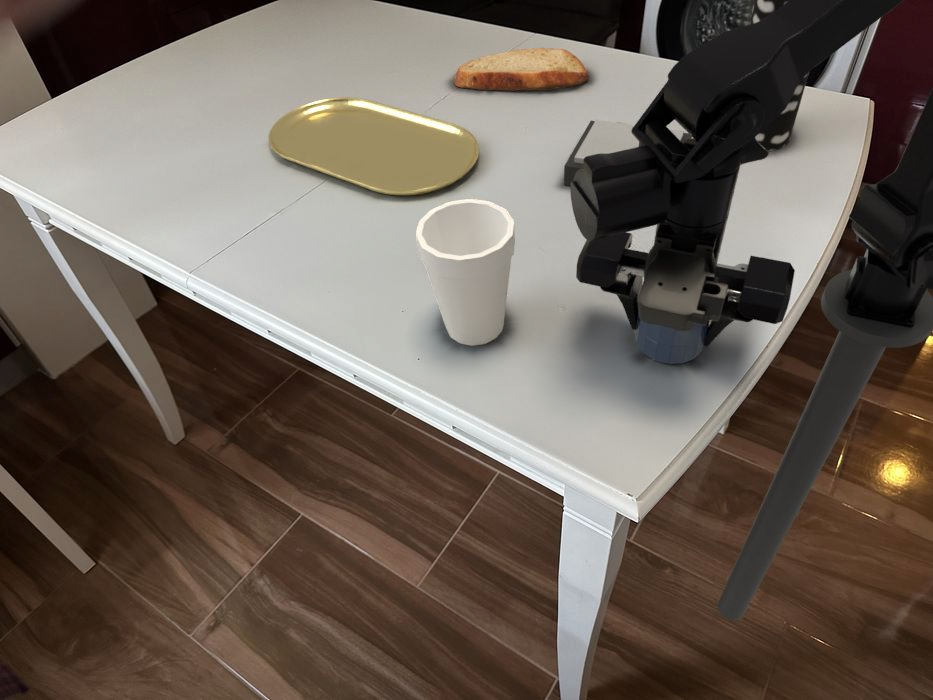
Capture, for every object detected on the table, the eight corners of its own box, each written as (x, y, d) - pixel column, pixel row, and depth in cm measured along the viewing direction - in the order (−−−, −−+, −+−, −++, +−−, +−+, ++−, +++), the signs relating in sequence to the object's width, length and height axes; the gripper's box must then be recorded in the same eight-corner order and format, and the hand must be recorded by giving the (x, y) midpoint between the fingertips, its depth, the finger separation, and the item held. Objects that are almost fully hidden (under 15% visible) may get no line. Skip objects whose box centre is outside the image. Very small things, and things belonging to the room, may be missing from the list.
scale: (689, 153, 94) (693, 128, 91) (669, 205, 86) (673, 179, 83) (589, 139, 98) (591, 115, 95) (562, 187, 91) (563, 162, 88)
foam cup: (489, 368, 70) (480, 271, 60) (415, 338, 74) (396, 242, 64) (533, 310, 75) (531, 213, 66) (462, 285, 79) (451, 190, 69)
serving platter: (329, 97, 114) (326, 87, 113) (505, 147, 99) (504, 137, 97) (245, 150, 104) (242, 141, 103) (426, 216, 89) (425, 206, 88)
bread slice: (445, 81, 114) (443, 59, 112) (527, 46, 121) (527, 24, 118) (514, 119, 104) (513, 95, 101) (599, 78, 110) (601, 55, 108)
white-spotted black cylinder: (722, 147, 94) (754, -8, 79) (730, 117, 99) (762, -33, 84) (787, 155, 91) (833, -3, 77) (792, 124, 96) (836, -30, 82)
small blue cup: (708, 327, 71) (718, 288, 67) (695, 374, 67) (705, 335, 63) (643, 313, 73) (649, 274, 69) (627, 357, 69) (632, 318, 65)
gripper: (559, 244, 56) (556, 368, 68) (802, 291, 50) (754, 420, 62) (597, 171, 63) (589, 296, 74) (815, 206, 57) (770, 336, 68)
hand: (669, 335), depth 70 cm, fingers closed on small blue cup, 7 cm apart
